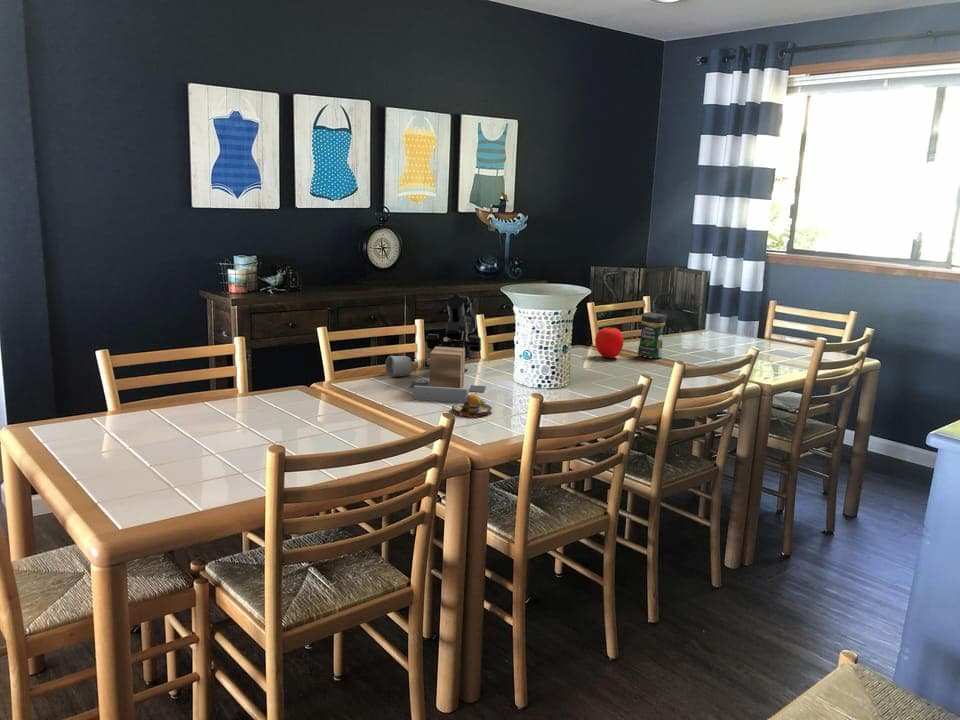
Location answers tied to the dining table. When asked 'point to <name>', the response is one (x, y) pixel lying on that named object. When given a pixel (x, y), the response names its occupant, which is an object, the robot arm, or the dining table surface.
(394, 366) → the ceramic mug
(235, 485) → the dining table surface
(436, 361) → the walnut block
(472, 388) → the mats
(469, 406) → the burger
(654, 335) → the coffee jar
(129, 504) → the dining table surface
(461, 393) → the grey t-shaped block
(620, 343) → the red apple
